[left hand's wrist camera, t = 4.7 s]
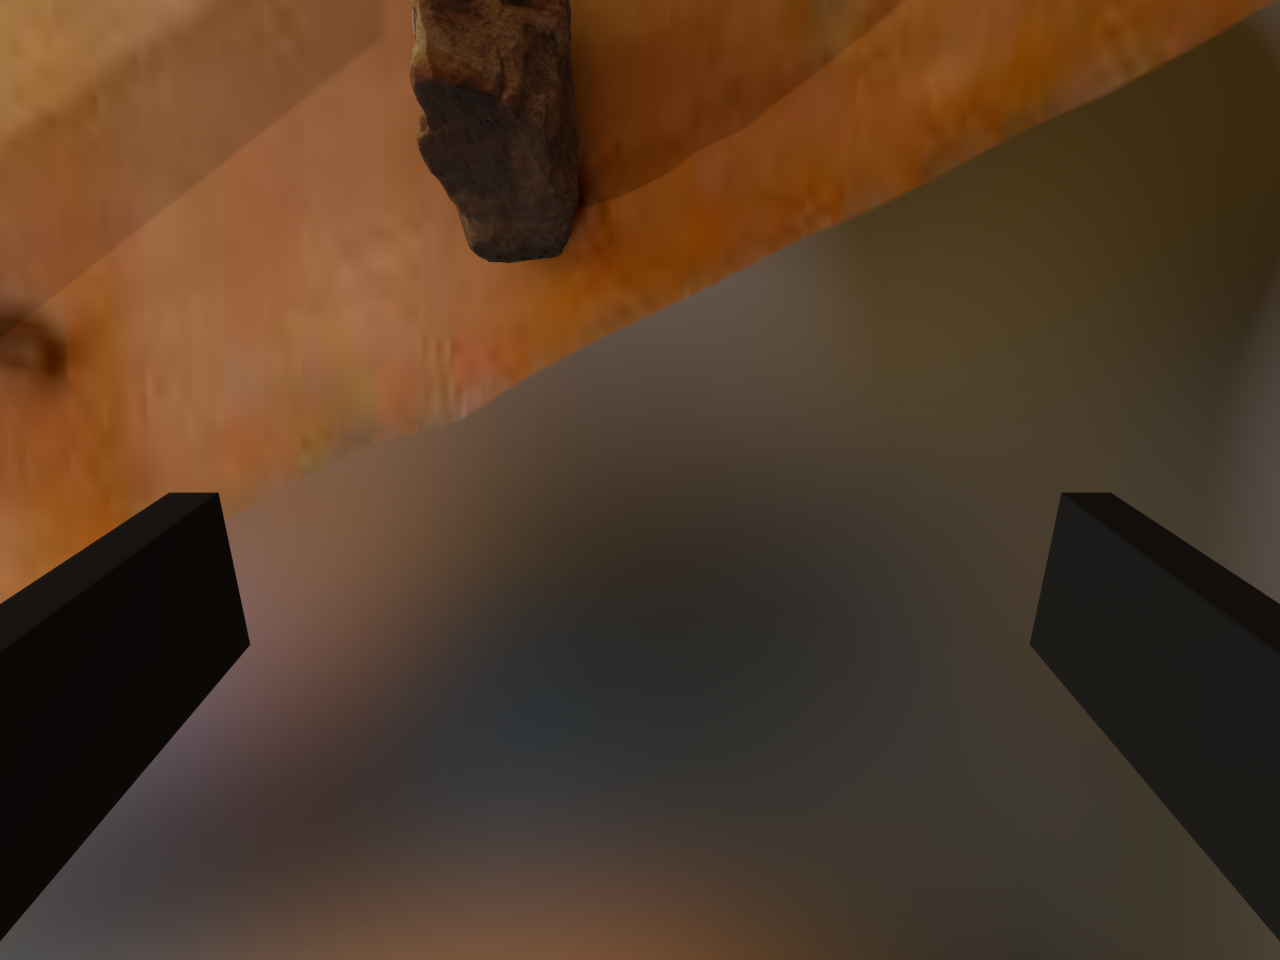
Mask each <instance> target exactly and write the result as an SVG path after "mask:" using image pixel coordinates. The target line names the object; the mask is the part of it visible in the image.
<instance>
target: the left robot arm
mask: <svg viewBox="0 0 1280 960" xmlns="http://www.w3.org/2000/svg"><path fill="white" fill-rule="evenodd" d="M249 645H250V641H249V637H248V632H247V627H246V622H245V618H244V613H243V608H242V603H241V598H240V594H239V589H238V584H237V579H236V575H235V570H234V565H233V560H232V555H231V551H230V546H229V541H228V536H227V531H226V527H225V522H224V517H223V512H222V507H221V503H220V498H219V493H168V494H166V495H165V496H163V497H162V498H160V499H159V500H157V501H156V502H154V503H153V504H151V505H150V506H148V507H147V508H145V509H144V510H142V511H141V512H139V513H138V514H136V515H135V516H133V517H132V518H130V519H129V520H127V521H126V522H124V523H122V524H121V525H119V526H118V527H116V528H115V529H113V530H112V531H110V532H109V533H107V534H106V535H104V536H103V537H101V538H100V539H98V540H97V541H95V542H94V543H92V544H91V545H89V546H88V547H86V548H85V549H83V550H82V551H80V552H79V553H77V554H75V555H74V556H72V557H71V558H69V559H68V560H66V561H65V562H63V563H62V564H60V565H59V566H57V567H56V568H54V569H53V570H51V571H50V572H48V573H47V574H45V575H44V576H42V577H41V578H39V579H38V580H36V581H35V582H33V583H31V584H30V585H28V586H27V587H25V588H24V589H22V590H21V591H19V592H18V593H16V594H15V595H13V596H12V597H10V598H9V599H7V600H6V601H4V602H3V603H1V604H0V941H1V940H2V939H3V937H4V936H5V935H6V934H7V932H8V931H9V930H10V929H11V928H12V927H13V925H14V924H15V923H16V922H17V921H18V919H19V918H20V917H21V916H22V915H23V914H24V912H25V911H26V910H27V909H28V908H29V906H30V905H31V904H32V903H33V902H34V901H35V899H36V898H37V897H38V896H39V895H40V893H41V892H42V891H43V890H44V889H45V887H46V886H47V885H48V884H49V883H50V882H51V880H52V879H53V878H54V877H55V876H56V874H57V873H58V872H59V871H60V870H61V869H62V867H63V866H64V865H65V864H66V863H67V861H68V860H69V859H70V858H71V857H72V855H73V854H74V853H75V852H76V851H77V850H78V848H79V847H80V846H81V845H82V844H83V842H84V841H85V840H86V839H87V838H88V836H89V835H90V834H91V833H92V832H93V831H94V829H95V828H96V827H97V826H98V825H99V823H100V822H101V821H102V820H103V819H104V817H105V816H106V815H107V814H108V813H109V812H110V810H111V809H112V808H113V807H114V806H115V804H116V803H117V802H118V801H119V800H120V798H121V797H122V796H123V795H124V794H125V793H126V791H127V790H128V789H129V788H130V787H131V785H132V784H133V783H134V782H135V781H136V780H137V778H138V777H139V776H140V775H141V774H142V772H143V771H144V770H145V769H146V768H147V766H148V765H149V764H150V763H151V762H152V761H153V759H154V758H155V757H156V756H157V755H158V753H159V752H160V751H161V750H162V749H163V747H164V746H165V745H166V744H167V743H168V742H169V740H170V739H171V738H172V737H173V736H174V734H175V733H176V732H177V731H178V730H179V728H180V727H181V726H182V725H183V724H184V723H185V721H186V720H187V719H188V718H189V717H190V715H191V714H192V713H193V712H194V711H195V710H196V708H197V707H198V706H199V705H200V704H201V702H202V701H203V700H204V699H205V698H206V696H207V695H208V694H209V693H210V692H211V691H212V689H213V688H214V687H215V686H216V685H217V683H218V682H219V681H220V680H221V679H222V677H223V676H224V675H225V674H226V673H227V672H228V670H229V669H230V668H231V667H232V666H233V664H234V663H235V662H236V661H237V660H238V659H239V657H240V656H241V655H242V654H243V653H244V651H245V650H246V649H247V648H248V647H249ZM1030 645H1031V647H1032V648H1033V649H1034V650H1035V651H1036V653H1037V654H1038V655H1039V656H1040V657H1041V658H1042V660H1043V661H1044V662H1045V663H1046V664H1047V666H1048V667H1049V668H1050V669H1051V670H1052V672H1053V673H1054V674H1055V675H1056V676H1057V677H1058V679H1059V680H1060V681H1061V682H1062V683H1063V685H1064V686H1065V687H1066V688H1067V689H1068V691H1069V692H1070V693H1071V694H1072V695H1073V696H1074V698H1075V699H1076V700H1077V701H1078V702H1079V704H1080V705H1081V706H1082V707H1083V708H1084V710H1085V711H1086V712H1087V713H1088V714H1089V715H1090V717H1091V718H1092V719H1093V720H1094V721H1095V723H1096V724H1097V725H1098V726H1099V727H1100V728H1101V730H1102V731H1103V732H1104V733H1105V734H1106V736H1107V737H1108V738H1109V739H1110V740H1111V741H1112V743H1113V744H1114V745H1115V746H1116V747H1117V749H1118V750H1119V751H1120V752H1121V753H1122V755H1123V756H1124V757H1125V758H1126V759H1127V761H1128V762H1129V763H1130V764H1131V765H1132V766H1133V768H1134V769H1135V770H1136V771H1137V772H1138V774H1139V775H1140V776H1141V777H1142V778H1143V779H1144V781H1145V782H1146V783H1147V784H1148V785H1149V787H1150V788H1151V789H1152V790H1153V791H1154V793H1155V794H1156V795H1157V796H1158V797H1159V799H1160V800H1161V801H1162V802H1163V803H1164V804H1165V806H1166V807H1167V808H1168V809H1169V810H1170V812H1171V813H1172V814H1173V815H1174V816H1175V817H1176V819H1177V820H1178V821H1179V822H1180V823H1181V825H1182V826H1183V827H1184V828H1185V829H1186V831H1187V832H1188V833H1189V834H1190V835H1191V836H1192V838H1193V839H1194V840H1195V841H1196V842H1197V844H1198V845H1199V846H1200V847H1201V848H1202V850H1203V851H1204V852H1205V853H1206V854H1207V855H1208V857H1209V858H1210V859H1211V860H1212V861H1213V863H1214V864H1215V865H1216V866H1217V867H1218V869H1219V870H1220V871H1221V872H1222V873H1223V874H1224V876H1225V877H1226V878H1227V879H1228V880H1229V881H1230V883H1231V884H1232V885H1233V886H1234V887H1235V889H1236V890H1237V891H1238V892H1239V893H1240V895H1241V896H1242V897H1243V898H1244V899H1245V901H1246V902H1247V903H1248V904H1249V905H1250V906H1251V908H1252V909H1253V910H1254V911H1255V912H1256V914H1257V915H1258V916H1259V917H1260V918H1261V920H1262V921H1263V922H1264V923H1265V924H1266V925H1267V927H1268V928H1269V929H1270V930H1271V931H1272V933H1273V934H1274V935H1275V936H1276V937H1277V939H1278V940H1279V941H1280V604H1279V603H1277V602H1276V601H1274V600H1273V599H1271V598H1270V597H1268V596H1267V595H1265V594H1264V593H1262V592H1261V591H1259V590H1258V589H1256V588H1255V587H1253V586H1251V585H1250V584H1249V583H1247V582H1245V581H1244V580H1242V579H1241V578H1239V577H1238V576H1236V575H1235V574H1233V573H1232V572H1230V571H1229V570H1227V569H1226V568H1224V567H1223V566H1221V565H1220V564H1218V563H1217V562H1215V561H1214V560H1212V559H1210V558H1209V557H1208V556H1206V555H1205V554H1203V553H1201V552H1200V551H1198V550H1197V549H1195V548H1194V547H1192V546H1191V545H1189V544H1188V543H1186V542H1185V541H1183V540H1182V539H1180V538H1179V537H1177V536H1176V535H1174V534H1173V533H1171V532H1170V531H1168V530H1167V529H1165V528H1164V527H1162V526H1161V525H1159V524H1158V523H1156V522H1154V521H1153V520H1151V519H1150V518H1148V517H1147V516H1145V515H1144V514H1142V513H1141V512H1139V511H1138V510H1136V509H1135V508H1133V507H1132V506H1130V505H1129V504H1127V503H1126V502H1124V501H1123V500H1121V499H1120V498H1118V497H1117V496H1115V495H1113V494H1112V493H1061V498H1060V503H1059V508H1058V512H1057V517H1056V522H1055V527H1054V531H1053V536H1052V541H1051V546H1050V551H1049V555H1048V560H1047V565H1046V570H1045V574H1044V579H1043V584H1042V589H1041V594H1040V598H1039V603H1038V608H1037V613H1036V617H1035V622H1034V627H1033V632H1032V637H1031V642H1030Z"/></svg>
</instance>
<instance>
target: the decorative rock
mask: <svg viewBox="0 0 1280 960" xmlns="http://www.w3.org/2000/svg"><path fill="white" fill-rule="evenodd" d="M411 3H412V8H413V9H412V22H413V29H414V35H415V38H416V41H415V44H414V47H413V50H412V57H411V68H410V81H411V85H412V88H413V91H414V93H415V96H416V99H417V101H418V103H419V104H420V106H421V107H422V109H423V113H422V115H421V117H420V125H419V128H418V130H417V132H416V138H417V142H418V146H419V150H420V153H421V155H422V158H423V160H424V162H425V164H426V165H427V167H428V169H429V171H430V172H431V173H432V174H433V175H434V176H435V177H436V178H437V179H438V180H439V181H440V183H441V184H442V185H443V187H444V189H445V191H446V193H447V195H448V197H449V199H450V200H451V201H452V202H453V203H454V204H455V205H456V207H457V210H458V214H459V217H460V220H461V223H462V226H463V229H464V232H465V237H466V241H467V243H468V245H469V247H470V249H471V250H472V251H473V252H474V253H475V254H476V255H478V256H479V257H481V258H483V259H486V260H487V261H488V262H505V263H512V262H520V261H526V260H533V259H542V258H552V257H556V256H559V255H560V254H561V253H562V250H563V248H564V246H565V245H566V243H567V241H568V238H569V236H570V235H571V231H572V228H573V213H574V211H575V209H576V208H577V206H578V202H579V186H578V177H577V152H578V147H579V127H578V120H577V114H576V98H575V93H574V87H573V82H572V64H571V52H570V41H571V33H570V22H571V10H570V4H569V1H568V0H411Z"/></svg>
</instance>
